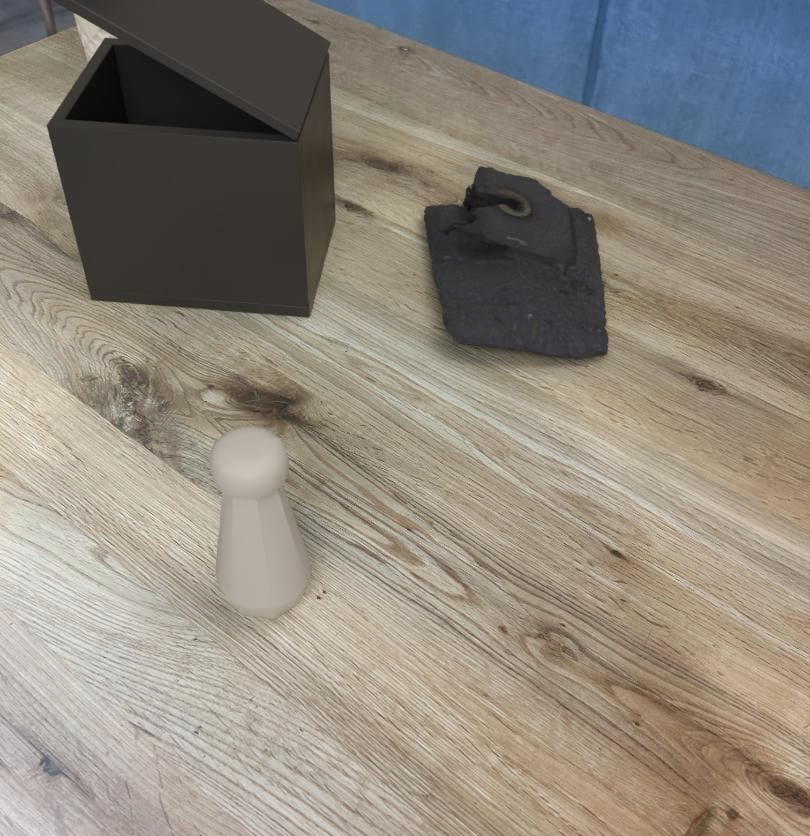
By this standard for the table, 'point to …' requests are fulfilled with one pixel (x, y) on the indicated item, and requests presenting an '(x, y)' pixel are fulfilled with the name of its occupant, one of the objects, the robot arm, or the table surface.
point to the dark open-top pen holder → (192, 190)
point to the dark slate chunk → (518, 269)
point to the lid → (223, 50)
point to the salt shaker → (257, 524)
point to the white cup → (90, 35)
